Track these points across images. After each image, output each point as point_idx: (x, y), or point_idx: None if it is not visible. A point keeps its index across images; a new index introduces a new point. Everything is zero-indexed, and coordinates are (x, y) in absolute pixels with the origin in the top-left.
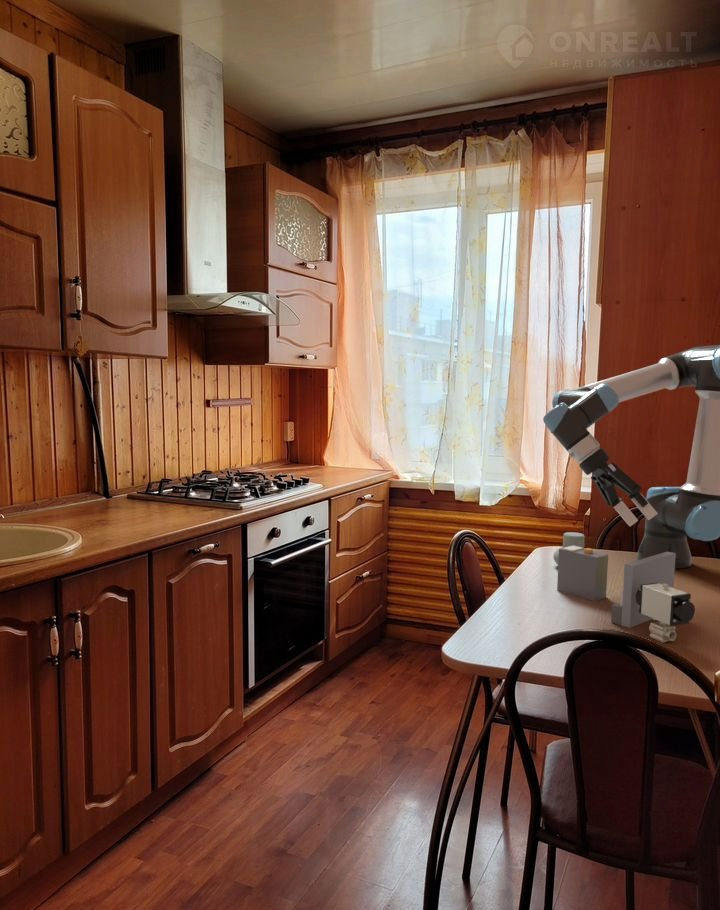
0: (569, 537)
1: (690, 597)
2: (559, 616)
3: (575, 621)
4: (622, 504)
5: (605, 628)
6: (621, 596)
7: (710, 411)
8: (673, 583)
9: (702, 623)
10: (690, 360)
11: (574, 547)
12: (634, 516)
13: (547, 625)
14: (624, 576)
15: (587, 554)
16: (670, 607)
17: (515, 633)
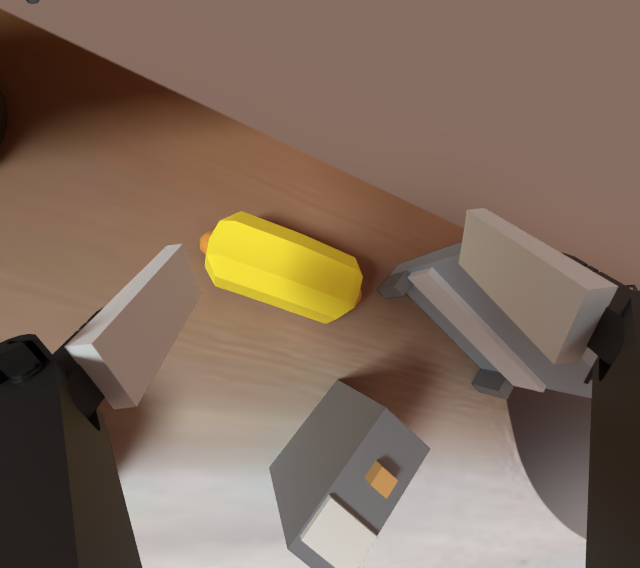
0: None
1: (626, 285)
2: (471, 486)
3: (488, 456)
4: (120, 339)
5: (505, 405)
6: (531, 388)
7: None
8: (433, 252)
9: (447, 235)
10: None
11: (332, 533)
12: (172, 260)
13: (516, 507)
14: (588, 396)
15: (399, 479)
16: None
17: (560, 560)
